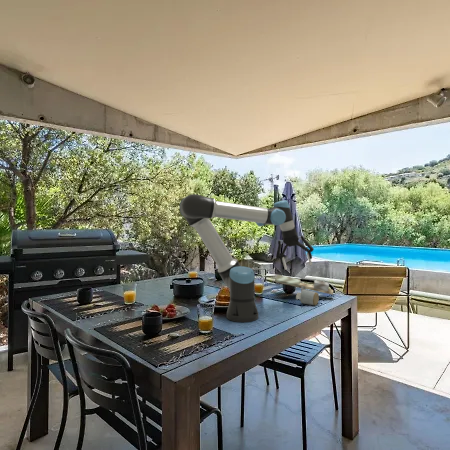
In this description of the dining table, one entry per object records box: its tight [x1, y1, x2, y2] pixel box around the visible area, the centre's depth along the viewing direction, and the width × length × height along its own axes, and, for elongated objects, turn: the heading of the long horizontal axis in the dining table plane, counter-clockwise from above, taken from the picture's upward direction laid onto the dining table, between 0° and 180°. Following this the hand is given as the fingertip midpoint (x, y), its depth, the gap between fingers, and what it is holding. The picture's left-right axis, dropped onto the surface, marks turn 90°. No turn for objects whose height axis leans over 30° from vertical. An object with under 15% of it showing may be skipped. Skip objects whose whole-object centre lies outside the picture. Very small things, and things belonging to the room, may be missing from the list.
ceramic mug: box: [300, 289, 320, 306], centre depth 180 cm, size 11×8×8 cm
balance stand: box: [295, 286, 307, 300], centre depth 194 cm, size 8×12×7 cm, turn 164°
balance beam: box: [274, 274, 334, 295], centre depth 194 cm, size 33×15×5 cm, turn 75°
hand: (298, 267), depth 178 cm, fingers open, 13 cm apart
